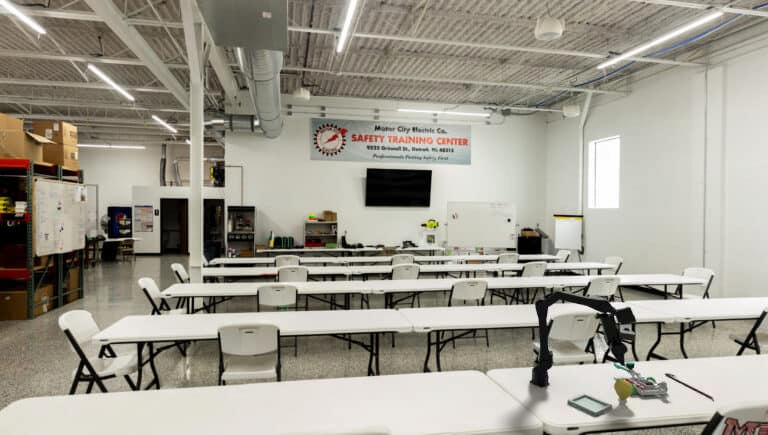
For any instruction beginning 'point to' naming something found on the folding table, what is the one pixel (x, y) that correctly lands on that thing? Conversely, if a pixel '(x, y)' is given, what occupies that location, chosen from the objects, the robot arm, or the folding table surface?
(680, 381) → the crowbar
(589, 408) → the tray
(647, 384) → the robot kit
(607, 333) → the robot arm
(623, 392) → the light bulb
